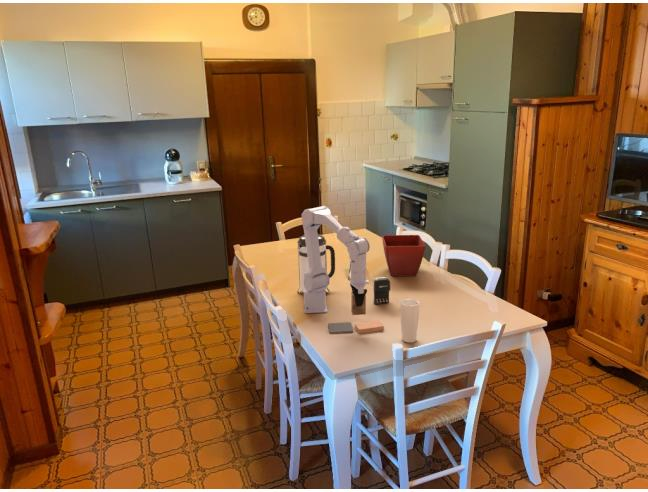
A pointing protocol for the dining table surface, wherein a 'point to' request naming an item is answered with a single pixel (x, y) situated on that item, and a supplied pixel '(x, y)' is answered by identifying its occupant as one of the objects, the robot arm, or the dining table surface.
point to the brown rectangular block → (356, 309)
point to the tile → (369, 326)
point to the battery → (381, 290)
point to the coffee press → (304, 259)
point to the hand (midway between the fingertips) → (358, 304)
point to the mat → (340, 327)
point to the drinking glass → (409, 319)
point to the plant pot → (403, 254)
